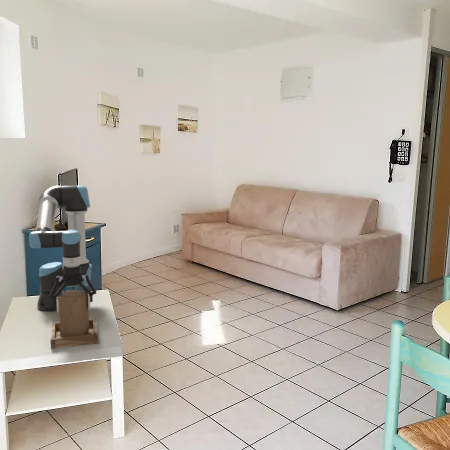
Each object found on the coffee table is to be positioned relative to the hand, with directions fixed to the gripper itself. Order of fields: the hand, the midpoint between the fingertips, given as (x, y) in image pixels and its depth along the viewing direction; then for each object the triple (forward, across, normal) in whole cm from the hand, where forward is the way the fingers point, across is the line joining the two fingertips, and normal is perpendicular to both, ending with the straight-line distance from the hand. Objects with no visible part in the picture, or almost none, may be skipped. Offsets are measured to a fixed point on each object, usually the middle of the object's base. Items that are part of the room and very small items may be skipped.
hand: (73, 310), depth 216 cm
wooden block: (+12, 0, 0) cm, 12 cm away
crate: (+13, 0, -1) cm, 13 cm away
